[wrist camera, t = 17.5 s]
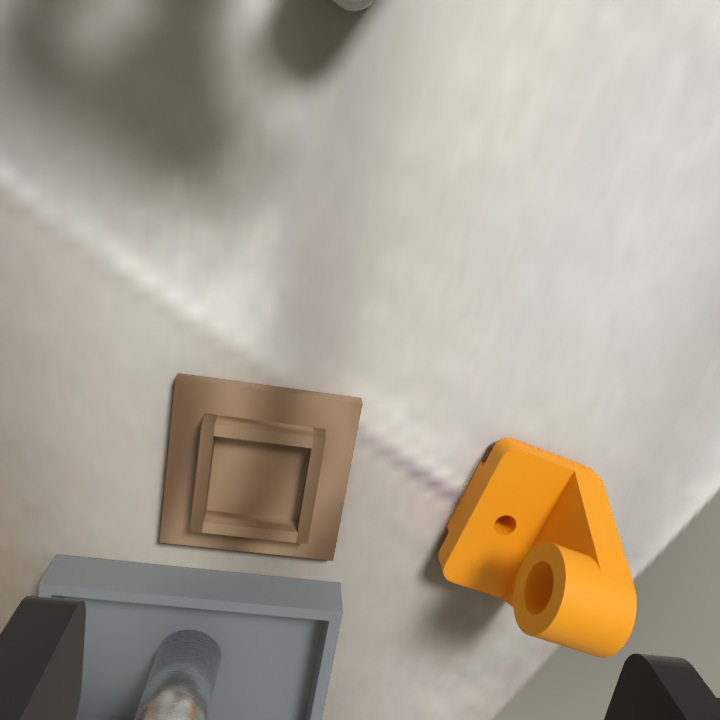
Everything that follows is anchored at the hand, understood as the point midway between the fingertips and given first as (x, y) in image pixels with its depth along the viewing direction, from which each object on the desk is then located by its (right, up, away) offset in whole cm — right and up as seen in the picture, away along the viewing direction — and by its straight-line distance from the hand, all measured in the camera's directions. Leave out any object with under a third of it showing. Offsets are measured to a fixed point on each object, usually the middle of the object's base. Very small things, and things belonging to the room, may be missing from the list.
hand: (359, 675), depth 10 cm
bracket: (+11, -6, +38) cm, 40 cm away
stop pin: (-13, -17, +39) cm, 44 cm away
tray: (-12, -17, +39) cm, 45 cm away
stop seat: (-7, -3, +35) cm, 36 cm away
